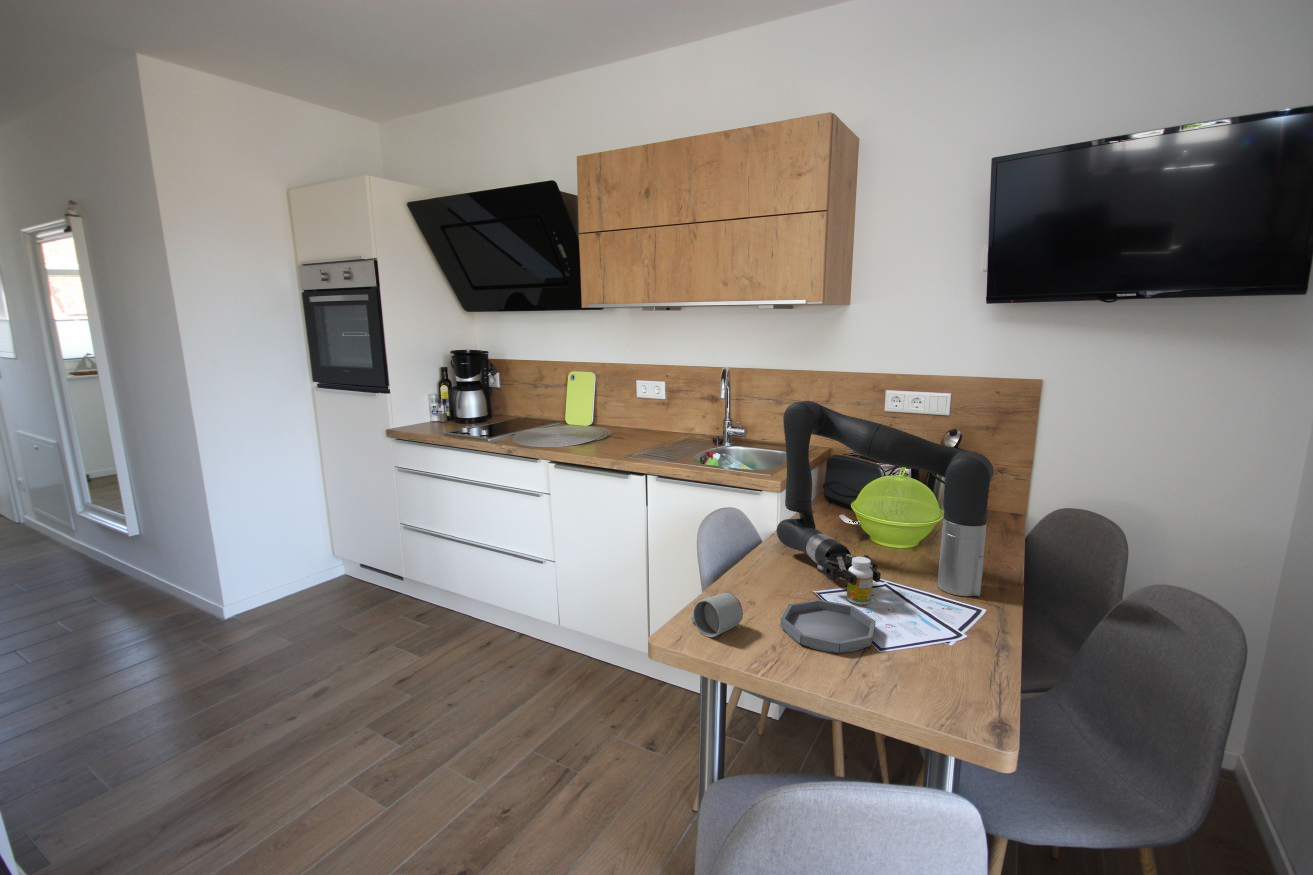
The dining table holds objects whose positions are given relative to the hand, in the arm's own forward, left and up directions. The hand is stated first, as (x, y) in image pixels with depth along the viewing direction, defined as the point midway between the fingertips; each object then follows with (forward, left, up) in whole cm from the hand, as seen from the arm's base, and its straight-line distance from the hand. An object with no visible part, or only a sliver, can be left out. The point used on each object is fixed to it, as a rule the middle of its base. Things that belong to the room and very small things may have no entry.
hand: (866, 579), depth 136 cm
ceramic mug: (+28, +24, -7) cm, 37 cm away
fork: (+6, -60, -7) cm, 61 cm away
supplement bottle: (+2, -2, -6) cm, 7 cm away
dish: (+6, +15, -6) cm, 17 cm away
